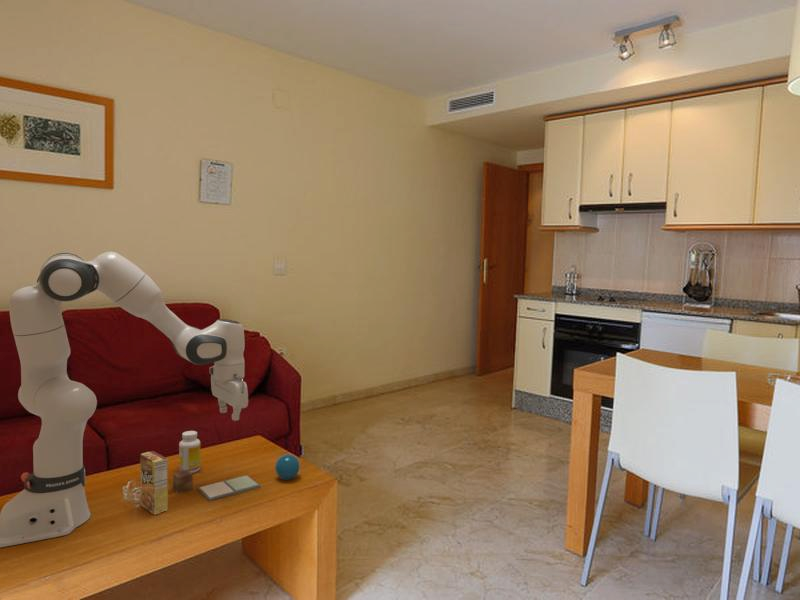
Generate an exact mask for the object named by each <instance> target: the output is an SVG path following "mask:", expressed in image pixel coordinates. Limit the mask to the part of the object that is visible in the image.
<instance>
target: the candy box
mask: <svg viewBox="0 0 800 600" xmlns="http://www.w3.org/2000/svg"><path fill="white" fill-rule="evenodd" d="M139 455H140V468H139V469H140V475H139V476H140V478H139V479H140V484H139V485H140V500H139V501H140V506H141V507H142V508H144V509H145V510H147V511H148V512H150V513H151V514H152V515H153V514H154V515H153V516H156V514H157V515H158V514H162V513H165V512H168V509H169V508H168V506H169V505H168V502H169V501H168V500H169V497H168V496H169V494H168V493H169V491H168V489H169V488H168V487H169V486H168V485H169V482H168V481H169V458H168V457H165V456H163V455H162V454H159V453H158V452H156V451H154V450H151V451H146V452H143V453H140V454H139ZM164 511H165V512H164ZM161 512H162V513H161Z"/></svg>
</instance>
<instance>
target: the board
mask: <svg viewBox="0 0 800 600" xmlns="http://www.w3.org/2000/svg"><path fill="white" fill-rule="evenodd" d="M256 489H261V484H259V483H258V482H257V481H255V480H254V479H253V478H252V477H250V476H249V475H248V474H246V475H242V476H238V477H233V478H229V479H226V480H221V481H218V482H213V483H209V484H205V485H203V486H202V485H201V486H198V487H197V490H198V492H200V493H201V494H202V496H204V497H205V498H206V499H207V500H208V502H212V501H215V499H216V500H218V499H222V498H225V497H230V496H234V495H237V494H241V493H245V492H249V491H252V490H256Z"/></svg>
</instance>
